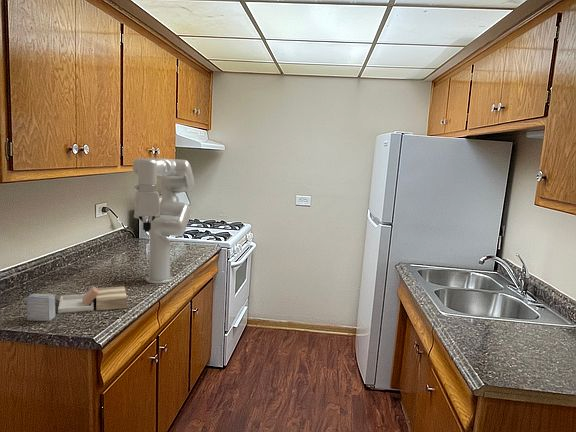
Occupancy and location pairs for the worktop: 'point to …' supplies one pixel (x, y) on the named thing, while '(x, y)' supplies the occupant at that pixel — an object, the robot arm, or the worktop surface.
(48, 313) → the medicine box
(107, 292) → the beige rectangular block
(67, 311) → the box
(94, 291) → the tile
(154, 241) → the robot arm
